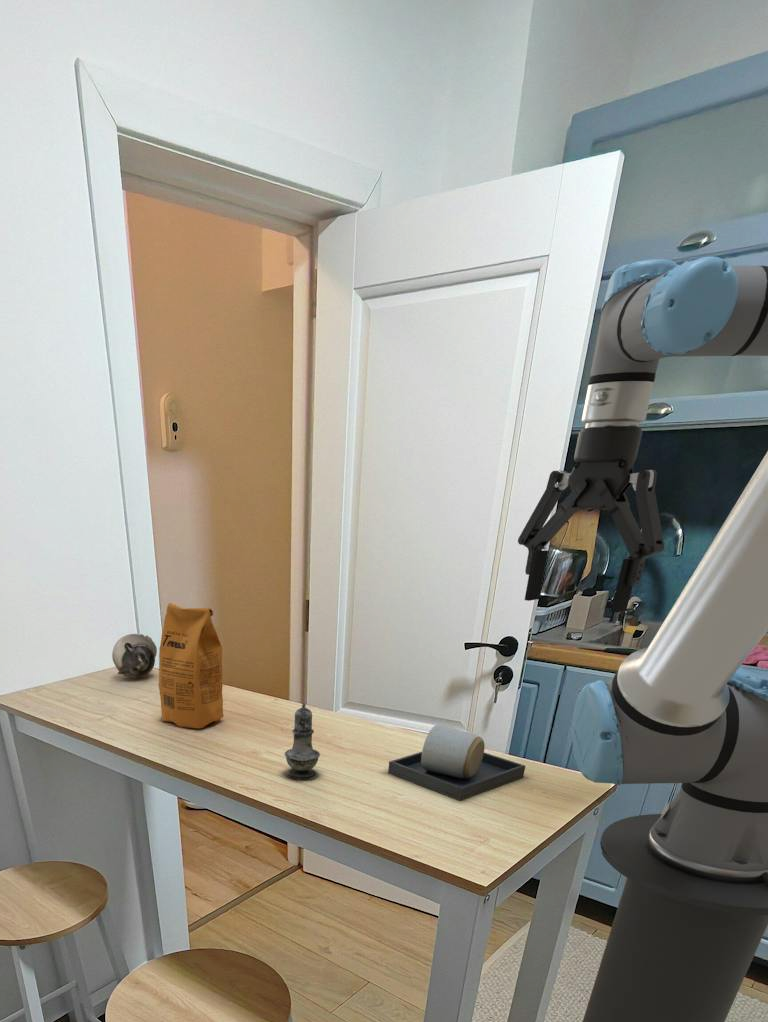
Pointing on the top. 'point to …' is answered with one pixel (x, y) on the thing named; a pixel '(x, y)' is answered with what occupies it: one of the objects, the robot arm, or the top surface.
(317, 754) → the dark chess piece
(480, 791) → the tray
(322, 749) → the top surface
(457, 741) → the ceramic mug
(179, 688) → the coffee package
